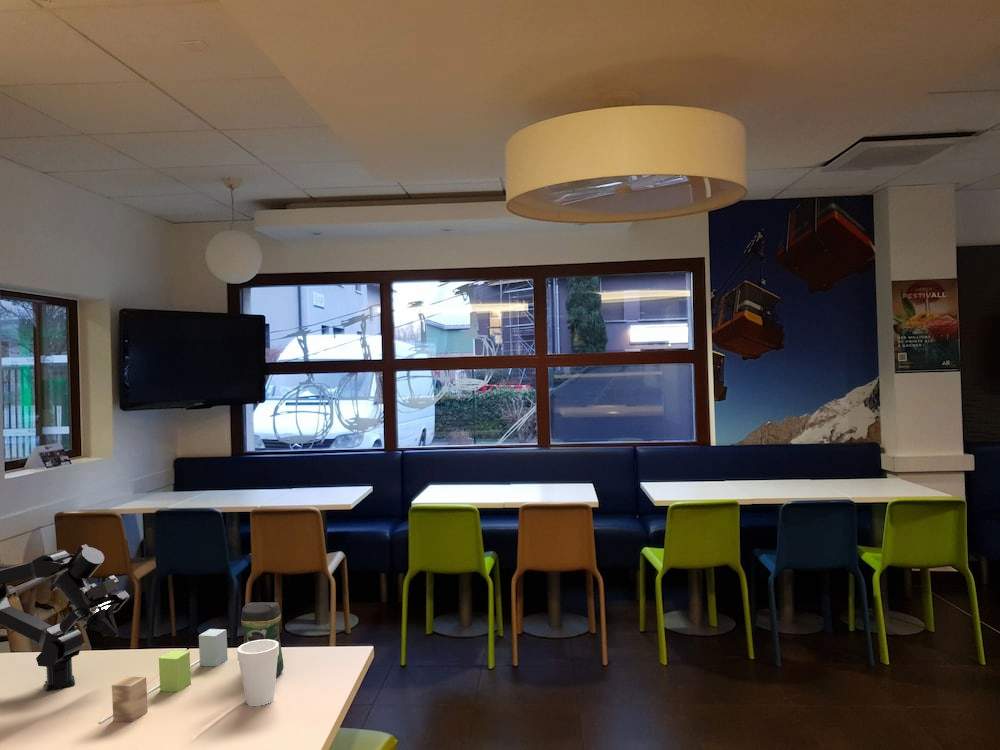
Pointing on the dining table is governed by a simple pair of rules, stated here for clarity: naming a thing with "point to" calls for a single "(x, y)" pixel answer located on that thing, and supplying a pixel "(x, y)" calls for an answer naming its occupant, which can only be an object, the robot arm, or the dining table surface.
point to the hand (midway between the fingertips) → (116, 635)
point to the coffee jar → (263, 625)
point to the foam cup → (258, 670)
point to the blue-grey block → (213, 647)
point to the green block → (174, 671)
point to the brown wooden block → (129, 698)
